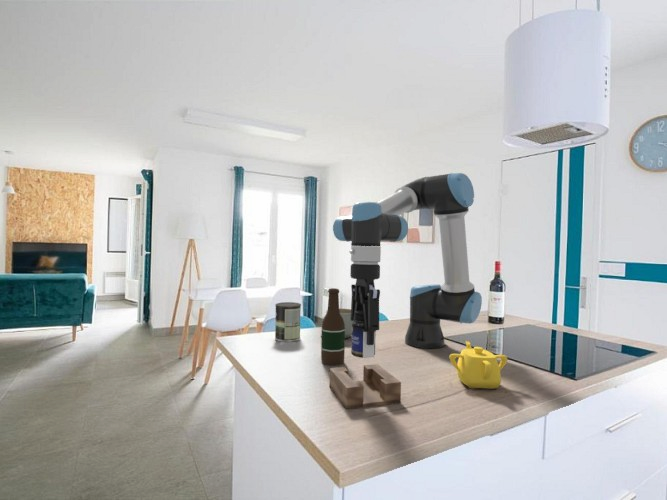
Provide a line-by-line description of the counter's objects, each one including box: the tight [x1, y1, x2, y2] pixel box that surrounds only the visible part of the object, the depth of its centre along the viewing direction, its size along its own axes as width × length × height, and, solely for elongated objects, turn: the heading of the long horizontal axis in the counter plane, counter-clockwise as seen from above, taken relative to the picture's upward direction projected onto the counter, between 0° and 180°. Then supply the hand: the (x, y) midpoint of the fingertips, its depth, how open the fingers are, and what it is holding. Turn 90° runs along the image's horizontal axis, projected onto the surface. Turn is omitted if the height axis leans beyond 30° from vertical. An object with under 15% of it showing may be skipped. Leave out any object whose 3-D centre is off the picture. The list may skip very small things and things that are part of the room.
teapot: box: [449, 340, 508, 390], centre depth 103 cm, size 14×13×10 cm
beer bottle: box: [320, 288, 346, 366], centre depth 120 cm, size 8×8×24 cm
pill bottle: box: [350, 310, 377, 359], centre depth 94 cm, size 6×6×11 cm
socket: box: [329, 363, 402, 410], centre depth 94 cm, size 14×14×5 cm
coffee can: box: [274, 301, 302, 343], centre depth 148 cm, size 10×10×14 cm
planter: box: [325, 307, 353, 339], centre depth 153 cm, size 12×12×11 cm
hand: (363, 353), depth 94 cm, fingers closed on pill bottle, 6 cm apart
